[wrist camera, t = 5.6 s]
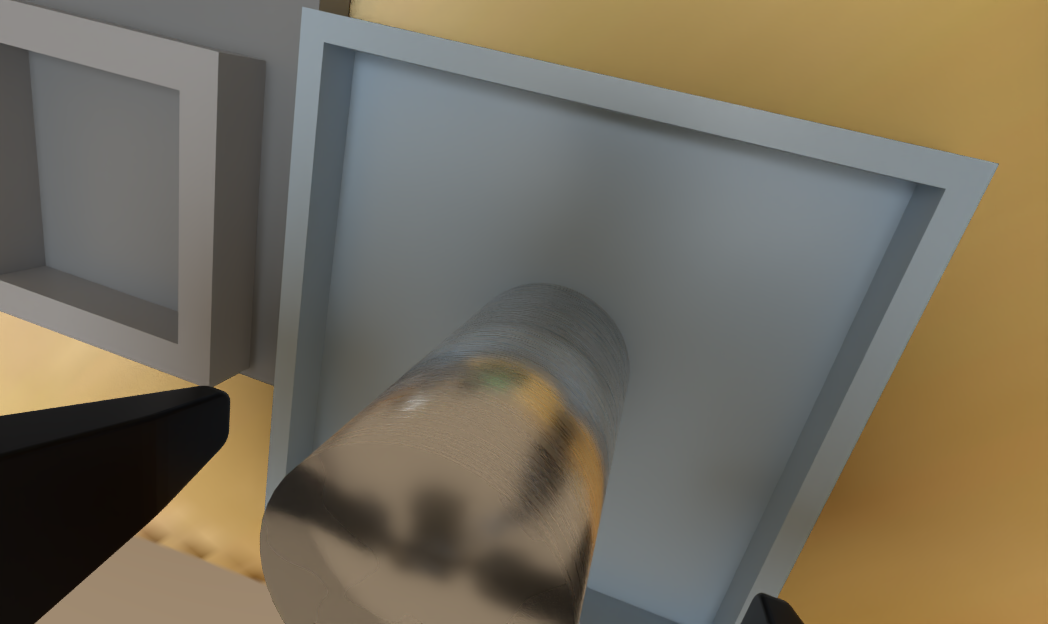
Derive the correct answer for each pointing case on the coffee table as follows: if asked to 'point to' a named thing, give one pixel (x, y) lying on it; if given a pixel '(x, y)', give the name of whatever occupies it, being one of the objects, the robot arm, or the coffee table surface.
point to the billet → (461, 478)
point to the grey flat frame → (150, 175)
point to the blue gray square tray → (613, 282)
